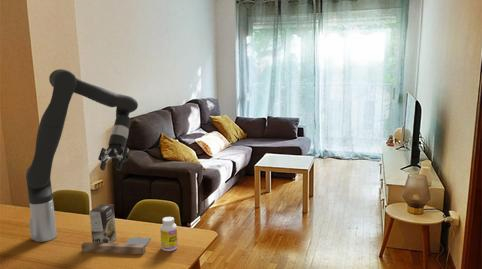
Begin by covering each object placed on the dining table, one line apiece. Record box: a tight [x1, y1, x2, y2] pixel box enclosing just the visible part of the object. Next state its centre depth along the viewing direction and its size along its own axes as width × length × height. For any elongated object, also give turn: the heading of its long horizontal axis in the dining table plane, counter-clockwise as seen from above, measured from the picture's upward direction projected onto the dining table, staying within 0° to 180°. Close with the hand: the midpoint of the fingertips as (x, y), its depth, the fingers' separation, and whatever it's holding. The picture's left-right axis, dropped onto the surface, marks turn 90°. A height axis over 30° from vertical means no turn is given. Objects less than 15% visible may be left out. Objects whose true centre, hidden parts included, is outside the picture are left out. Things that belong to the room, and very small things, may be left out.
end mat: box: [125, 237, 152, 248], centre depth 168 cm, size 9×10×1 cm
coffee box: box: [89, 203, 117, 243], centre depth 168 cm, size 9×6×16 cm
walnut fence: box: [81, 241, 146, 255], centre depth 161 cm, size 26×2×3 cm, turn 84°
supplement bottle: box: [159, 216, 178, 252], centre depth 163 cm, size 7×7×13 cm
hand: (110, 170), depth 176 cm, fingers open, 8 cm apart
